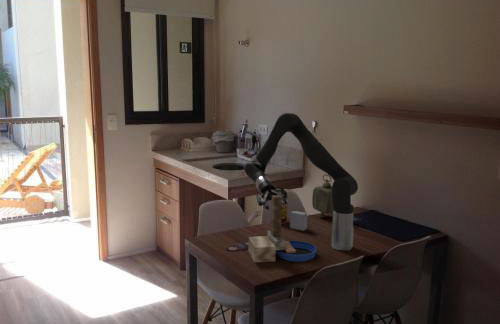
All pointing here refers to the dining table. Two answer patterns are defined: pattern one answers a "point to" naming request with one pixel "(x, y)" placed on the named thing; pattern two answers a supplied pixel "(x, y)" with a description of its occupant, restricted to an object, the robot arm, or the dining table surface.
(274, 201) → the scraper
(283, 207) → the canned food
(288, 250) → the tile
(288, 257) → the bowl
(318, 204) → the tabletop clock
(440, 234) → the dining table surface
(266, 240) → the beige square open box
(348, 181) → the robot arm
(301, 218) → the medicine box
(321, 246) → the dining table surface
